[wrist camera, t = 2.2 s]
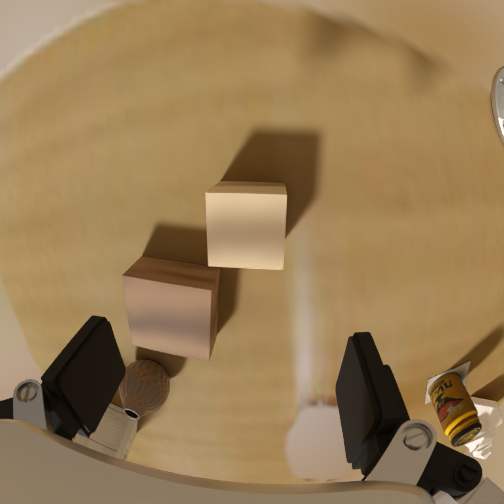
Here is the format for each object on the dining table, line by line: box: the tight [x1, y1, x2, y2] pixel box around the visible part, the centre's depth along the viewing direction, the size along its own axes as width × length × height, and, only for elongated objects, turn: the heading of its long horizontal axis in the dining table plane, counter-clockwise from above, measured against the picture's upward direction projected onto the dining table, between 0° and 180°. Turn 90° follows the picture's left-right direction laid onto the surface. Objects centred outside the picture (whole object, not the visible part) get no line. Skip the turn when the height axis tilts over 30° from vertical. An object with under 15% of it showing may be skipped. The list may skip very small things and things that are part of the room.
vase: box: [119, 360, 170, 420], centre depth 33 cm, size 7×7×9 cm
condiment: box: [425, 360, 482, 447], centre depth 29 cm, size 7×8×12 cm
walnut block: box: [122, 256, 221, 361], centre depth 29 cm, size 9×9×5 cm
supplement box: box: [75, 403, 138, 461], centre depth 36 cm, size 10×9×17 cm
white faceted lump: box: [464, 396, 503, 459], centre depth 33 cm, size 12×15×14 cm
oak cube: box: [206, 181, 287, 270], centre depth 25 cm, size 6×6×6 cm
